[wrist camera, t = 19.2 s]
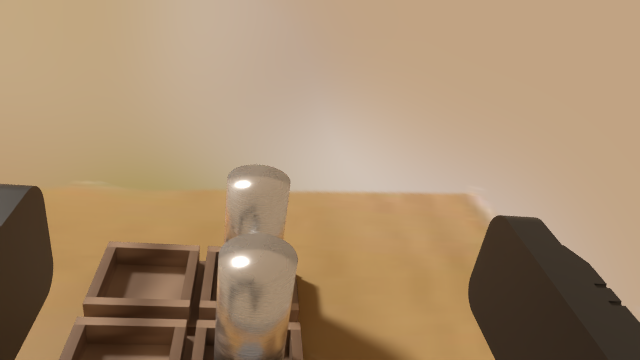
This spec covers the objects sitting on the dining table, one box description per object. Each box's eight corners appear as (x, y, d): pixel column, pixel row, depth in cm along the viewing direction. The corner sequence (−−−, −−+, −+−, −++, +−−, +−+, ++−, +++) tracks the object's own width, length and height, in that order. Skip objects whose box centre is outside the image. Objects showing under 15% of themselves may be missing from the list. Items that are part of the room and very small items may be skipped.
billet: (237, 320, 44) (246, 201, 38) (212, 285, 47) (216, 171, 42) (286, 301, 47) (302, 188, 41) (259, 269, 50) (269, 160, 44)
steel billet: (233, 422, 36) (244, 294, 30) (201, 371, 39) (204, 246, 33) (292, 390, 39) (313, 267, 33) (257, 344, 42) (270, 225, 36)
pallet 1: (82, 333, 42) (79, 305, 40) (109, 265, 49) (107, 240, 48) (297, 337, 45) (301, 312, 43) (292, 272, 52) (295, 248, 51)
